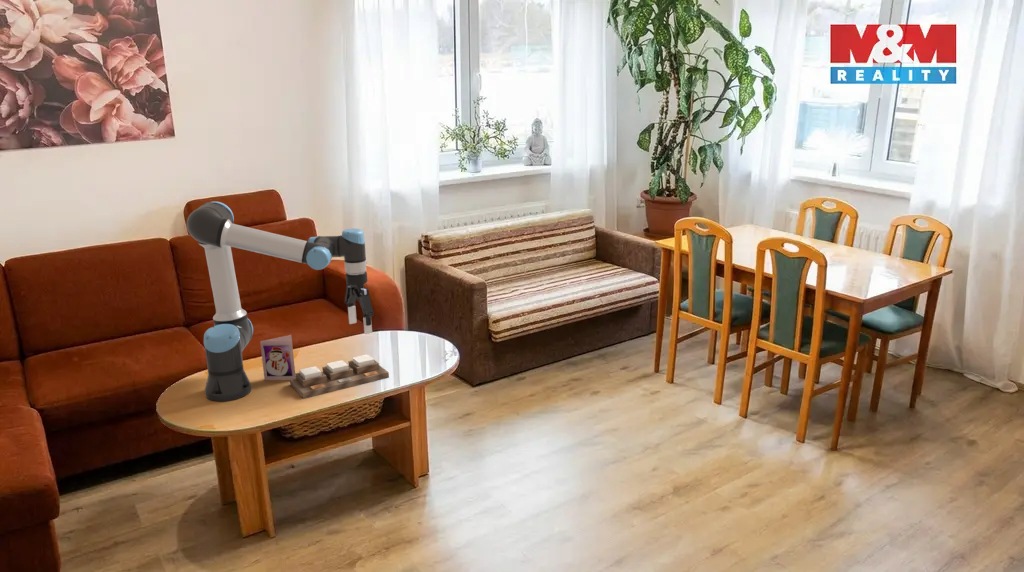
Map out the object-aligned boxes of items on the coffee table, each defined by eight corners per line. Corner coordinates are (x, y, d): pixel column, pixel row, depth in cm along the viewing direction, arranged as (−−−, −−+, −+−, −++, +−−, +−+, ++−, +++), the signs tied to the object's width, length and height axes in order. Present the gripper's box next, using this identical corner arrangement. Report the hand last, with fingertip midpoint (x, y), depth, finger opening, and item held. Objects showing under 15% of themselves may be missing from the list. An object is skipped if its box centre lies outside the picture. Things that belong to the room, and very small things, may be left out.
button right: (359, 368, 287) (358, 362, 287) (352, 363, 292) (352, 357, 291) (374, 365, 290) (374, 359, 290) (367, 360, 295) (367, 354, 295)
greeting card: (263, 381, 287) (259, 342, 283) (269, 372, 294) (265, 334, 290) (295, 380, 287) (291, 341, 282) (300, 372, 294) (296, 334, 290)
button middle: (332, 375, 282) (332, 368, 281) (326, 369, 287) (326, 363, 286) (348, 371, 285) (348, 365, 285) (342, 366, 290) (342, 360, 289)
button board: (303, 398, 272) (302, 386, 271) (290, 384, 283) (289, 373, 282) (388, 377, 289) (388, 365, 287) (373, 365, 300) (372, 354, 299)
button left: (305, 381, 277) (305, 375, 276) (299, 376, 282) (299, 369, 281) (322, 377, 280) (321, 371, 279) (316, 372, 285) (315, 366, 284)
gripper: (380, 278, 275) (384, 335, 281) (351, 263, 294) (356, 317, 301) (360, 281, 271) (365, 340, 277) (332, 266, 290) (337, 321, 297)
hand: (360, 328), depth 289 cm, fingers open, 13 cm apart
